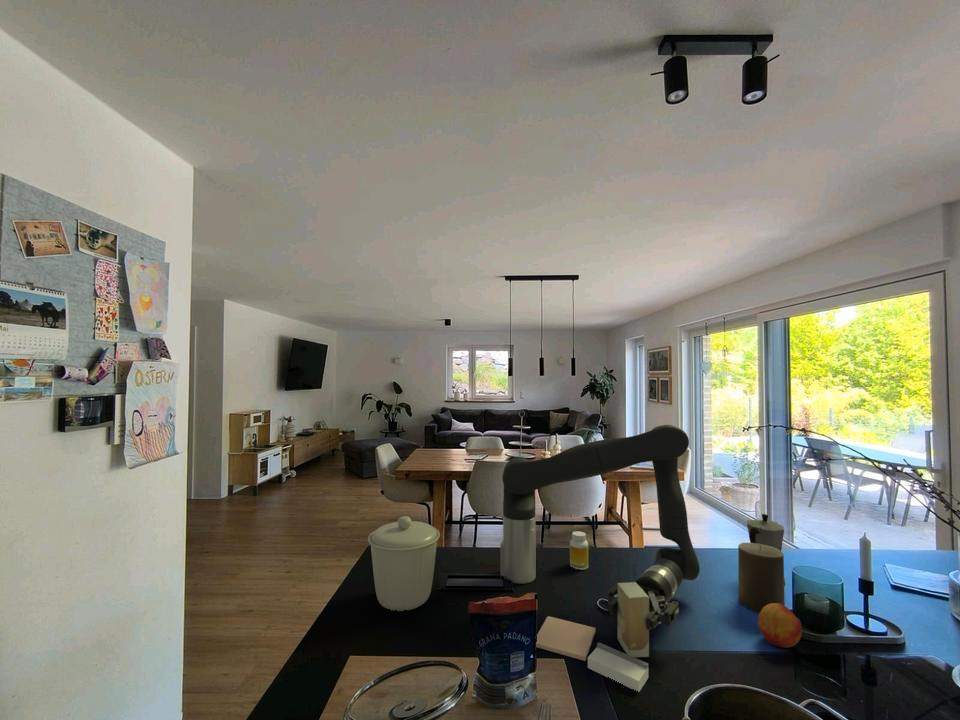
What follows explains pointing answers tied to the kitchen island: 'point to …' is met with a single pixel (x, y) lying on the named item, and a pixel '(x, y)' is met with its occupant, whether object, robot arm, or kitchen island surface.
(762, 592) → the pillar candle
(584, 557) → the supplement bottle
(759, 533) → the coffeepot
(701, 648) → the kitchen island surface
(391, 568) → the canister
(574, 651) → the coaster
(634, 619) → the skincare box
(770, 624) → the fruit
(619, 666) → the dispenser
